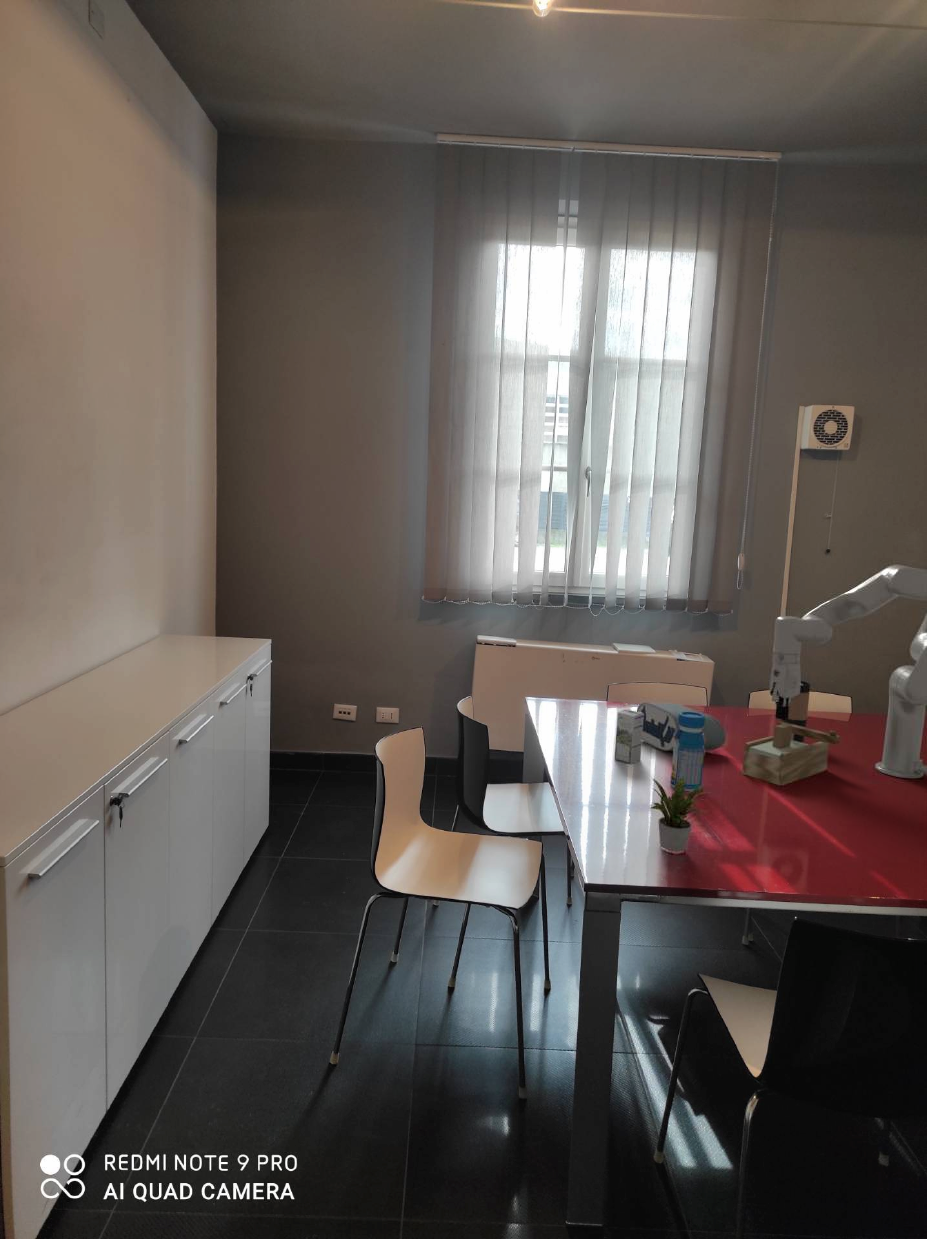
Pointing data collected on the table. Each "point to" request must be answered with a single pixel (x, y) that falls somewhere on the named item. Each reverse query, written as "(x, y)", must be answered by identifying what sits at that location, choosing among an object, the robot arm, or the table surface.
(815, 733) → the wooden bar
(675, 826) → the house plant
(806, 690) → the travel mug
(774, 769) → the toolbox
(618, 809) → the table surface
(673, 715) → the grey hat
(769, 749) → the lid
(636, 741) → the syrup box
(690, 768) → the beverage bottle
